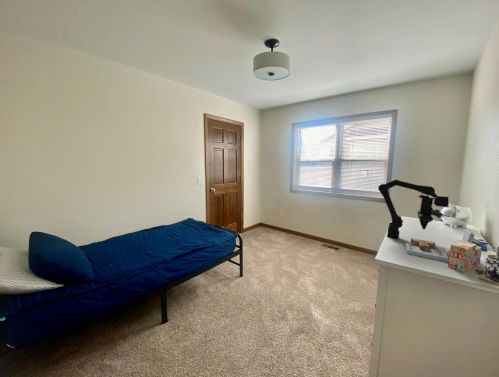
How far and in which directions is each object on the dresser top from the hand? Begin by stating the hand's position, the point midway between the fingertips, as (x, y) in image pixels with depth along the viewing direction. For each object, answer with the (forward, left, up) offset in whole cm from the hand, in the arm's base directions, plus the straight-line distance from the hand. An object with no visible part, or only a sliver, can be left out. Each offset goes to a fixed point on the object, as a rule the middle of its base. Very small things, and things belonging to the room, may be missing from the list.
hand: (422, 227), depth 141 cm
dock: (0, -23, -10) cm, 25 cm away
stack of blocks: (+15, -30, -10) cm, 35 cm away
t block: (0, -12, -10) cm, 16 cm away
